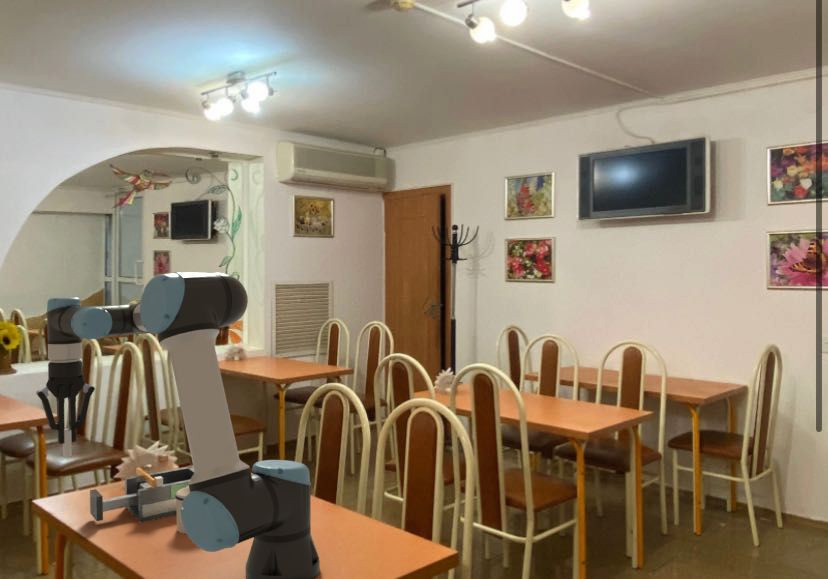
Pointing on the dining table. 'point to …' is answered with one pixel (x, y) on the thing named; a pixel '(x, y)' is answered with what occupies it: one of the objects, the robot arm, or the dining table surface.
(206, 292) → the robot arm
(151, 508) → the gauge housing
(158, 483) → the marker
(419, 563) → the dining table surface
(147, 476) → the grey t-handle block
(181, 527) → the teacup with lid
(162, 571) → the dining table surface
